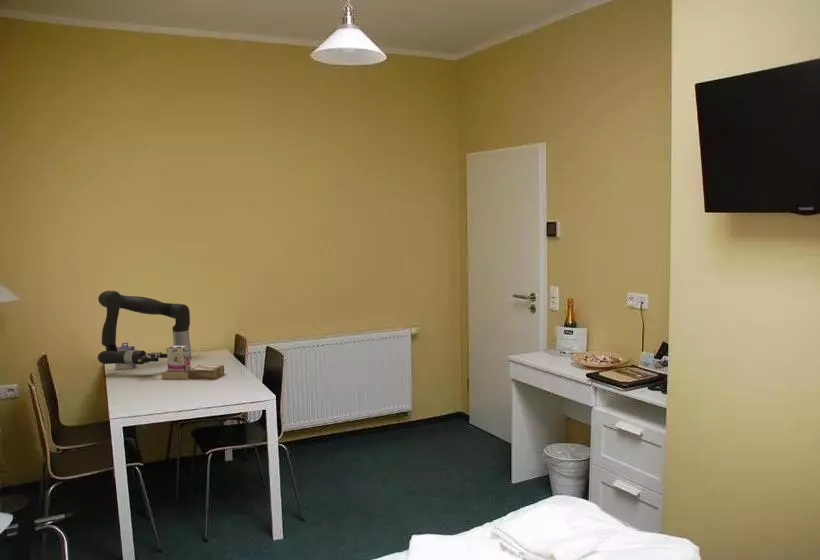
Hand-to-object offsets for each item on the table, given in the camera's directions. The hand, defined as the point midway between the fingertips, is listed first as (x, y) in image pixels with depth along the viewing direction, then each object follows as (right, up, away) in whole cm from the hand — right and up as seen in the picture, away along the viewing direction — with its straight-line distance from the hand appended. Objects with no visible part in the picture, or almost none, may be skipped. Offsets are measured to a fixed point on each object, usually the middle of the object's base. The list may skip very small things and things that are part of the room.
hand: (162, 357), depth 346 cm
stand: (+25, -10, -3) cm, 27 cm away
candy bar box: (+9, -10, -1) cm, 14 cm away
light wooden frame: (+9, -10, -1) cm, 14 cm away
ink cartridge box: (-29, -9, +23) cm, 38 cm away
